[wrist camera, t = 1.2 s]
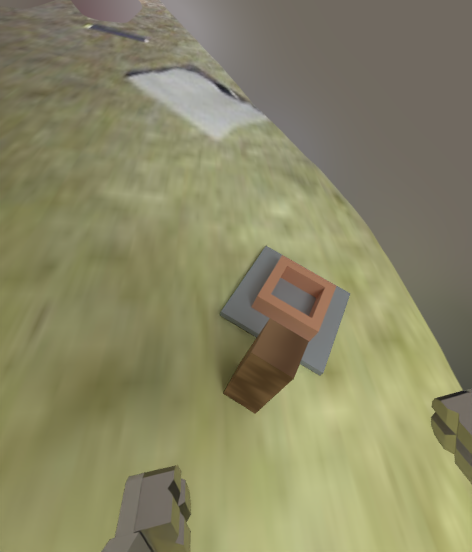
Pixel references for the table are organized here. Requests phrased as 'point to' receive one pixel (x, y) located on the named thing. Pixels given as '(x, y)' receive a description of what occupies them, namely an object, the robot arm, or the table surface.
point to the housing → (289, 304)
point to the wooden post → (266, 366)
